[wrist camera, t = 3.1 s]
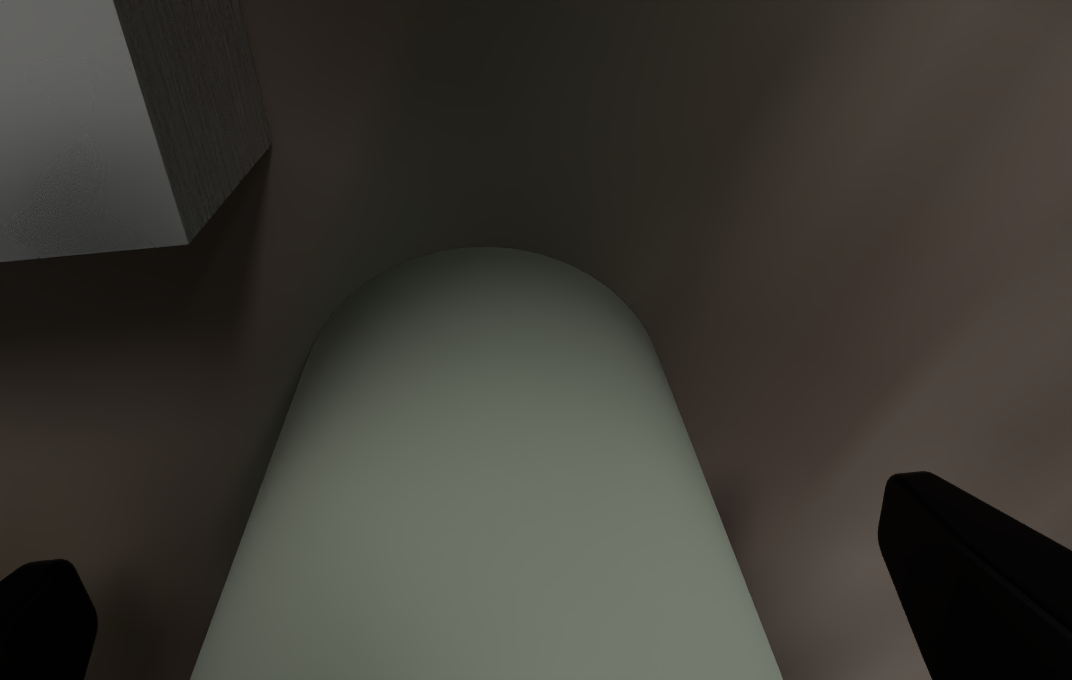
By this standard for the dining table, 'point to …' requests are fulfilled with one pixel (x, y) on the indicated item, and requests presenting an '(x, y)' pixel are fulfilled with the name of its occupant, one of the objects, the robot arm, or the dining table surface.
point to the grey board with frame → (121, 122)
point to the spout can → (484, 497)
